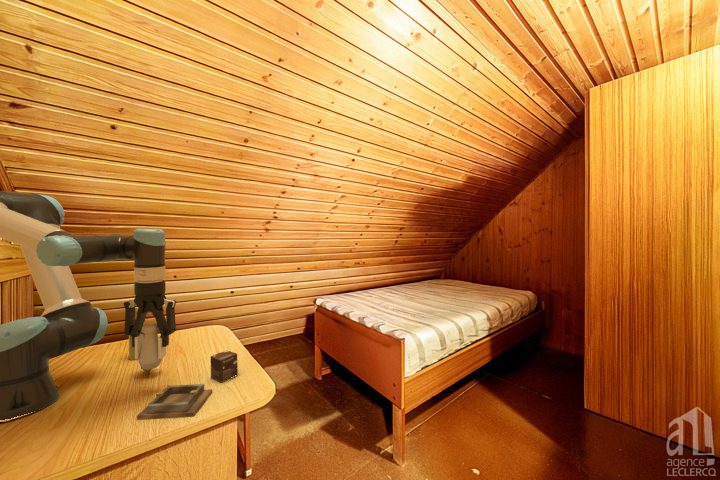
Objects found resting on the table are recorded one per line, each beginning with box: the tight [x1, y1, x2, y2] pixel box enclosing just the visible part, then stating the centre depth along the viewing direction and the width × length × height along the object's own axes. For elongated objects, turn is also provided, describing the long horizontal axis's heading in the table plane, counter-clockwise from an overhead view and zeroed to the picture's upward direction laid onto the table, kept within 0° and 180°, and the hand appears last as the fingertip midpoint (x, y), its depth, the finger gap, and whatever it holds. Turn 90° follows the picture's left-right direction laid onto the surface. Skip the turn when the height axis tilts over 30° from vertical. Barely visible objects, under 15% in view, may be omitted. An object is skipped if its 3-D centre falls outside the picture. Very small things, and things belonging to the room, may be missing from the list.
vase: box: [128, 318, 147, 361], centre depth 111 cm, size 6×6×14 cm
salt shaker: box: [138, 322, 163, 370], centre depth 87 cm, size 6×6×13 cm
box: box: [210, 350, 239, 383], centre depth 95 cm, size 6×6×7 cm
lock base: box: [136, 383, 213, 420], centre depth 80 cm, size 14×11×4 cm
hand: (150, 357), depth 87 cm, fingers closed on salt shaker, 6 cm apart
